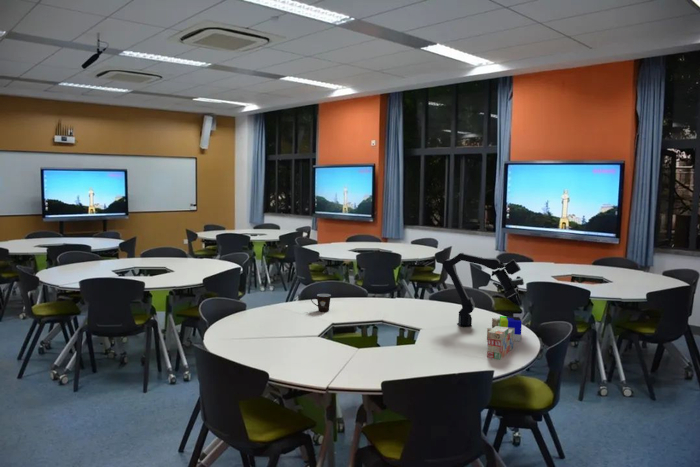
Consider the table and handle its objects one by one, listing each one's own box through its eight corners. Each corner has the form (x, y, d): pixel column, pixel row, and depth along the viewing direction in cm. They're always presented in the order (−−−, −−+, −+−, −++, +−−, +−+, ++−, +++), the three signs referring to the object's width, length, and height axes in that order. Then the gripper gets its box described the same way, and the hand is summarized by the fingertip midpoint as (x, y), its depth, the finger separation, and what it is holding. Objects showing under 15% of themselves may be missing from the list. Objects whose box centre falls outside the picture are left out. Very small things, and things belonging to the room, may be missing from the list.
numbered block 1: (496, 331, 286) (496, 320, 286) (491, 328, 291) (492, 317, 291) (504, 330, 287) (505, 319, 287) (500, 328, 292) (500, 317, 292)
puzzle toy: (520, 341, 269) (521, 321, 268) (500, 339, 271) (501, 320, 270) (518, 335, 278) (519, 317, 278) (499, 334, 280) (499, 315, 280)
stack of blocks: (500, 345, 260) (501, 321, 259) (513, 348, 257) (514, 323, 256) (486, 357, 242) (487, 331, 241) (500, 360, 239) (501, 333, 238)
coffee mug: (333, 310, 328) (333, 294, 328) (325, 313, 321) (325, 297, 320) (318, 308, 335) (318, 292, 334) (310, 310, 327) (310, 294, 327)
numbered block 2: (491, 342, 265) (492, 330, 265) (486, 339, 271) (487, 327, 270) (500, 342, 266) (501, 330, 266) (495, 339, 271) (496, 327, 271)
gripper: (516, 274, 276) (532, 300, 274) (518, 269, 293) (533, 293, 291) (497, 284, 280) (513, 310, 278) (500, 279, 297) (515, 303, 295)
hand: (519, 303), depth 285 cm, fingers open, 9 cm apart
